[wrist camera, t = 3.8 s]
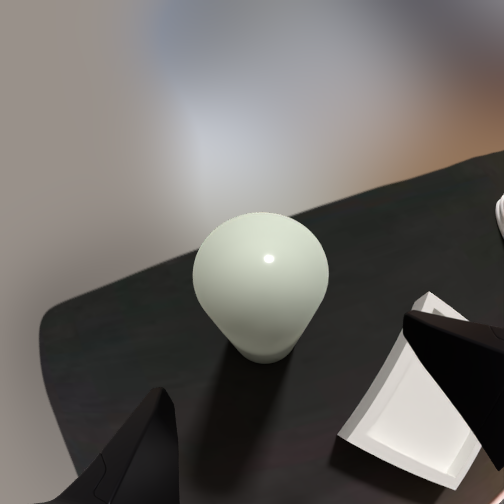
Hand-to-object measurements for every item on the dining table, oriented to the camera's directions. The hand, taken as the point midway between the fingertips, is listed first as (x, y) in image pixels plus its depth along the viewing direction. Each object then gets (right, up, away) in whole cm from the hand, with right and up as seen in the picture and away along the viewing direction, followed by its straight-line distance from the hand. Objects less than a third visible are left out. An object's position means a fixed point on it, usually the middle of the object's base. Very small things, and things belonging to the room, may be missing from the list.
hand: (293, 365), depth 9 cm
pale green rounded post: (0, -2, +12) cm, 12 cm away
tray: (+14, -9, +8) cm, 18 cm away
